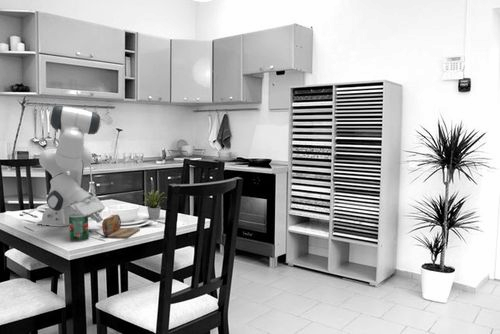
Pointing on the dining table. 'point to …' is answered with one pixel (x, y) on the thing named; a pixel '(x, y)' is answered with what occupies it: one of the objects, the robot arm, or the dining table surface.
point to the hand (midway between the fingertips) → (100, 221)
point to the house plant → (153, 205)
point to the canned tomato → (78, 227)
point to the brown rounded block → (111, 224)
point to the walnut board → (124, 233)
